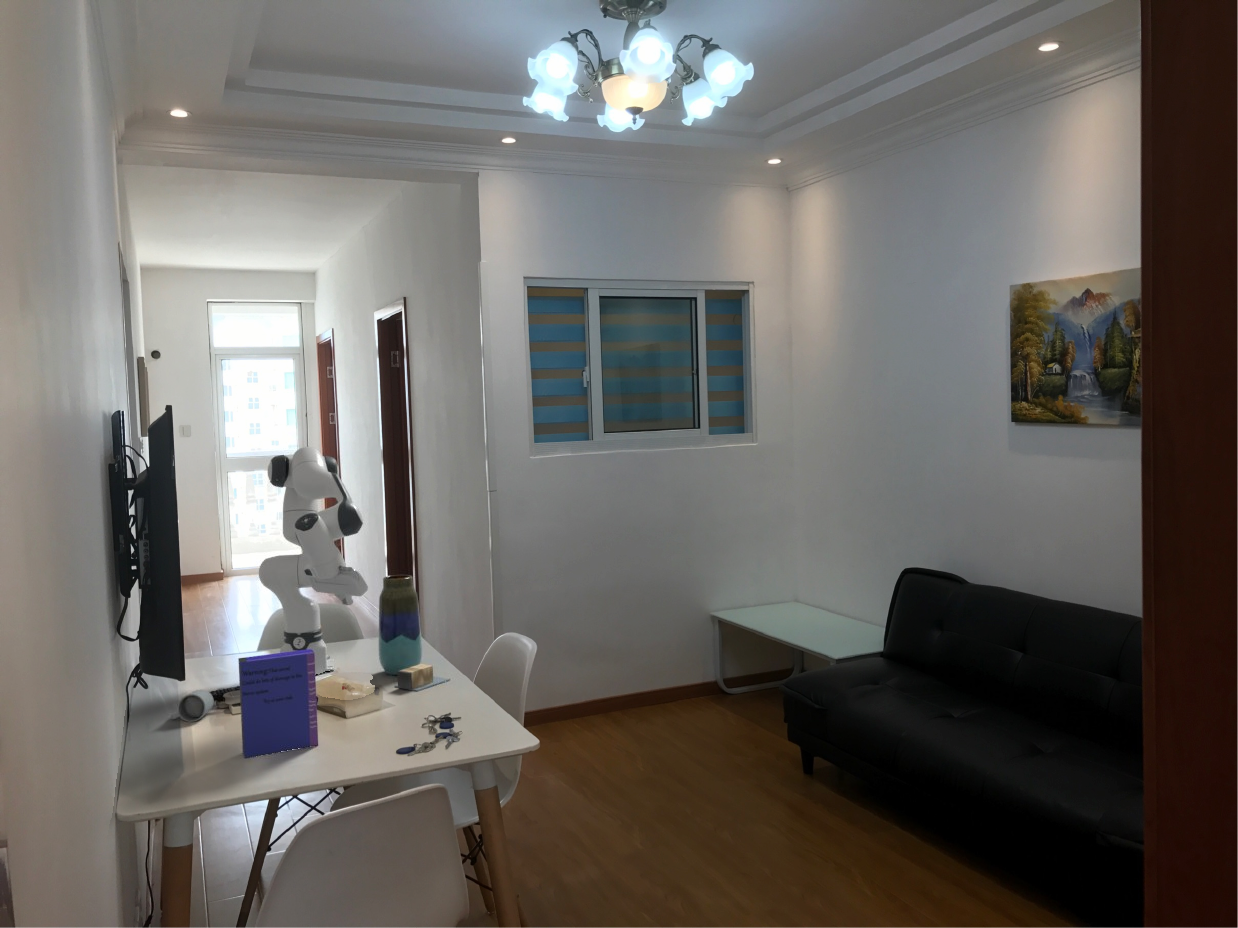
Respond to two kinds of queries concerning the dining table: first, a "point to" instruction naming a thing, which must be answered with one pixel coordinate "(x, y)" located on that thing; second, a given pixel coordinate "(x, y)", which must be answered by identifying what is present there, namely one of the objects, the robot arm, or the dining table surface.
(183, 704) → the ceramic mug
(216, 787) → the dining table surface
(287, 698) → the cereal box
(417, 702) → the dining table surface
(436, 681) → the rubber mat
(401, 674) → the oak block
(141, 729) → the dining table surface
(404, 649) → the vase
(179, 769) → the dining table surface
